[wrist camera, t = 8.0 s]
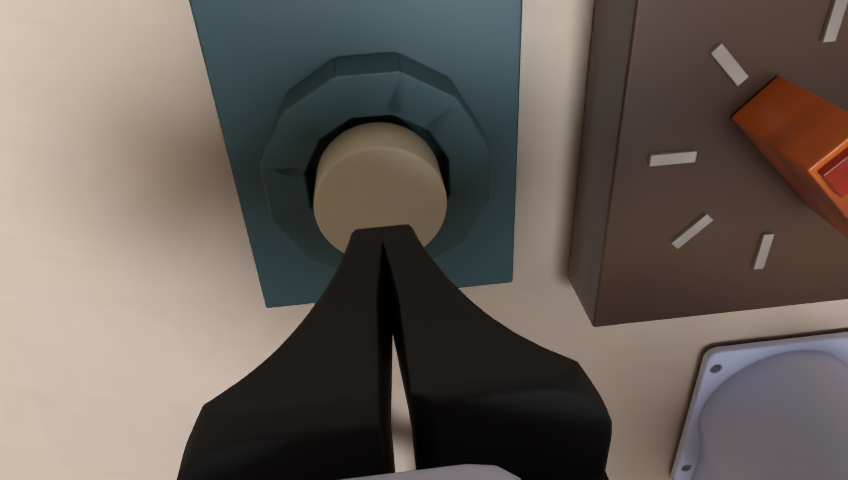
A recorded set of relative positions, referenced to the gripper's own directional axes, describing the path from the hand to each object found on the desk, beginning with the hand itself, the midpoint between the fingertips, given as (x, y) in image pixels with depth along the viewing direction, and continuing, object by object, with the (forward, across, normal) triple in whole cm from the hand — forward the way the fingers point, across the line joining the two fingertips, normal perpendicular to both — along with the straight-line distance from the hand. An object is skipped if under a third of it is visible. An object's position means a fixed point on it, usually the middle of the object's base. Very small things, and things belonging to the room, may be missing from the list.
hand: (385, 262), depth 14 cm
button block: (+7, 0, 0) cm, 7 cm away
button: (+4, 0, 0) cm, 4 cm away
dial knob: (+4, -12, 0) cm, 13 cm away
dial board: (+7, -12, 0) cm, 14 cm away
